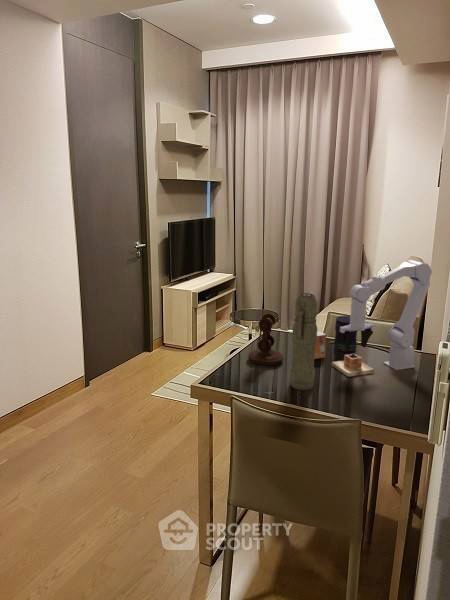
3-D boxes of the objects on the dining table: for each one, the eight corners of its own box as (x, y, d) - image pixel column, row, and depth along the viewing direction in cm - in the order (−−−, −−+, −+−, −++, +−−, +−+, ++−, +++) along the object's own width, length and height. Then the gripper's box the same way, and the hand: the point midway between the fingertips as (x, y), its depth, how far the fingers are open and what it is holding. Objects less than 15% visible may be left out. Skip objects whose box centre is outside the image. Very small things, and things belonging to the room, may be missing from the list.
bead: (354, 362, 193) (354, 353, 192) (361, 367, 189) (362, 357, 188) (343, 364, 192) (344, 355, 191) (350, 368, 187) (351, 359, 186)
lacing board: (356, 361, 198) (357, 347, 196) (373, 372, 187) (375, 357, 185) (331, 365, 194) (332, 350, 192) (348, 376, 183) (349, 361, 182)
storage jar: (358, 354, 206) (361, 322, 202) (336, 354, 206) (338, 322, 202) (352, 346, 216) (355, 315, 212) (331, 346, 216) (333, 315, 212)
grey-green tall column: (285, 389, 172) (290, 297, 163) (294, 377, 182) (298, 290, 173) (309, 393, 168) (315, 300, 160) (317, 381, 179) (322, 292, 170)
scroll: (252, 353, 207) (253, 309, 202) (285, 356, 203) (287, 312, 198) (244, 365, 193) (245, 319, 188) (279, 369, 189) (281, 322, 184)
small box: (310, 360, 199) (311, 337, 197) (302, 356, 204) (303, 333, 201) (325, 357, 203) (326, 334, 200) (317, 353, 208) (318, 330, 205)
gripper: (347, 319, 179) (345, 353, 182) (379, 316, 183) (376, 349, 187) (337, 314, 185) (335, 347, 188) (368, 311, 190) (365, 343, 193)
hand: (355, 347), depth 188 cm, fingers open, 7 cm apart
